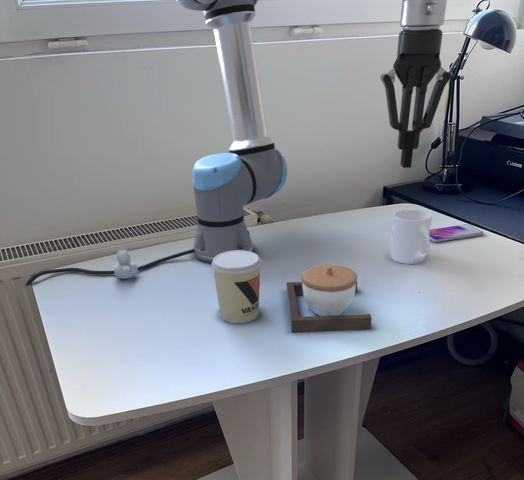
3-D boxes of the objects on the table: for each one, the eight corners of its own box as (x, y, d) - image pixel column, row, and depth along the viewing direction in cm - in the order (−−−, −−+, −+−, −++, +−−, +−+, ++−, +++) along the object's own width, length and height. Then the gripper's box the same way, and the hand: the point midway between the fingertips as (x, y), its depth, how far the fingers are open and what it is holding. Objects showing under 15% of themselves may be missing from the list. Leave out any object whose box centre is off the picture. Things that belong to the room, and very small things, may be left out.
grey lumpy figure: (137, 271, 124) (131, 239, 119) (141, 281, 118) (135, 249, 114) (114, 274, 122) (107, 243, 118) (117, 285, 117) (110, 252, 113)
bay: (291, 332, 96) (291, 320, 95) (286, 292, 111) (286, 282, 109) (370, 329, 96) (371, 317, 95) (355, 290, 111) (356, 279, 109)
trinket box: (353, 298, 107) (356, 256, 102) (355, 323, 98) (358, 279, 93) (302, 297, 109) (302, 256, 103) (300, 322, 100) (300, 278, 95)
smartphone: (484, 232, 135) (435, 240, 131) (484, 235, 135) (434, 243, 132) (467, 223, 141) (420, 230, 137) (467, 226, 141) (419, 233, 138)
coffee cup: (246, 329, 98) (242, 272, 91) (207, 318, 102) (201, 262, 96) (271, 309, 104) (269, 254, 98) (233, 300, 109) (230, 246, 102)
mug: (409, 272, 117) (415, 227, 112) (382, 254, 127) (386, 211, 121) (441, 266, 119) (448, 222, 114) (412, 249, 129) (418, 207, 123)
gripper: (389, 30, 88) (377, 171, 100) (465, 27, 87) (443, 169, 100) (380, 29, 94) (370, 163, 107) (451, 27, 94) (432, 160, 106)
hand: (405, 165), depth 103 cm, fingers closed
